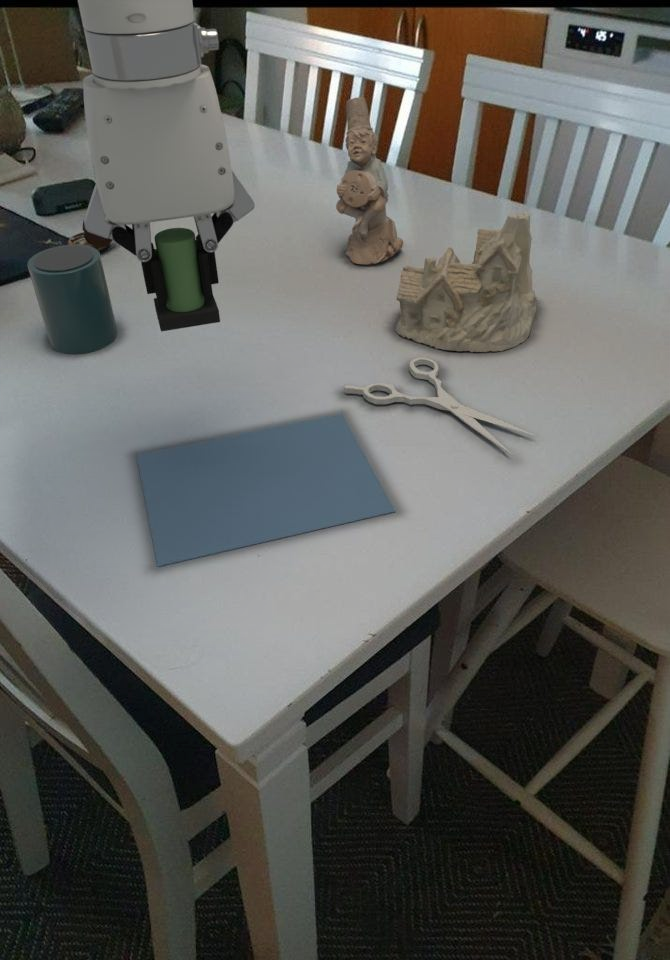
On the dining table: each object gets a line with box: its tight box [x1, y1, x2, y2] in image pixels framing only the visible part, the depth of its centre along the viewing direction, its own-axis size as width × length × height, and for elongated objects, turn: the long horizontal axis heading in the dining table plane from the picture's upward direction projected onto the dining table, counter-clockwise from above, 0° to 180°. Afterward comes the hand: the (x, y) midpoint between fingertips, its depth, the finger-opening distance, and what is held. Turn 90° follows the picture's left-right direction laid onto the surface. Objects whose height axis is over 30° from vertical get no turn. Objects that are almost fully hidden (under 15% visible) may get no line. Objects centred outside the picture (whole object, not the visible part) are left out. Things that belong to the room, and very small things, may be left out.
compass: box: [65, 215, 114, 253], centre depth 115 cm, size 8×8×7 cm
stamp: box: [153, 227, 221, 332], centre depth 67 cm, size 5×4×7 cm
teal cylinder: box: [27, 244, 119, 355], centre depth 95 cm, size 8×8×10 cm
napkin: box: [136, 413, 396, 568], centre depth 75 cm, size 21×16×1 cm
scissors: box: [343, 357, 537, 457], centre depth 83 cm, size 11×1×20 cm
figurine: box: [335, 96, 404, 265], centre depth 107 cm, size 9×8×20 cm
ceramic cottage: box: [395, 211, 538, 353], centre depth 94 cm, size 16×16×15 cm
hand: (183, 293), depth 68 cm, fingers closed on stamp, 3 cm apart
